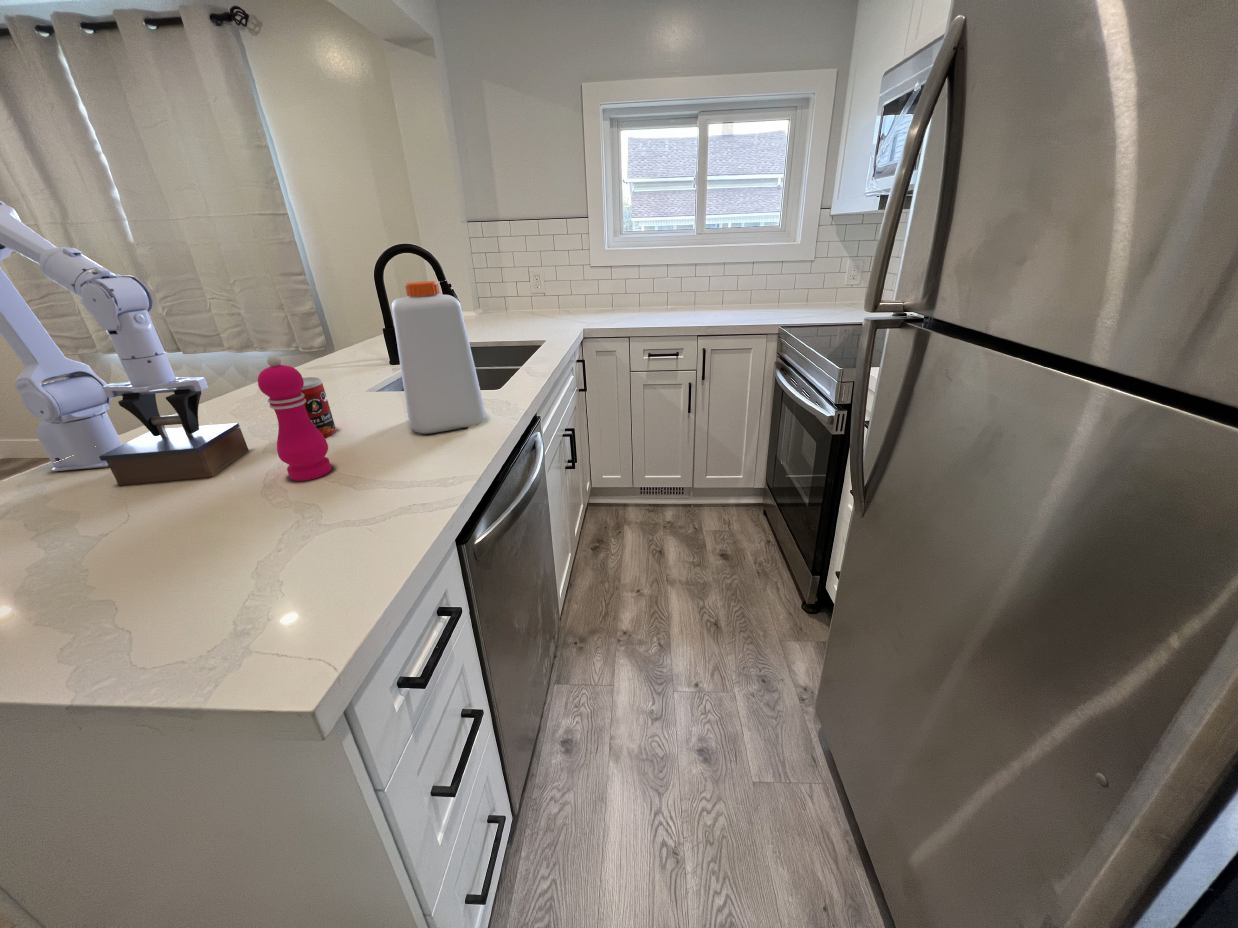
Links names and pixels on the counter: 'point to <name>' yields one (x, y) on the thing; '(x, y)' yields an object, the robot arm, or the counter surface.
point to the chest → (181, 463)
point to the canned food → (318, 406)
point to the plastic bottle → (436, 361)
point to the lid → (170, 440)
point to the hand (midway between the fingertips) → (176, 433)
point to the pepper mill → (294, 422)
